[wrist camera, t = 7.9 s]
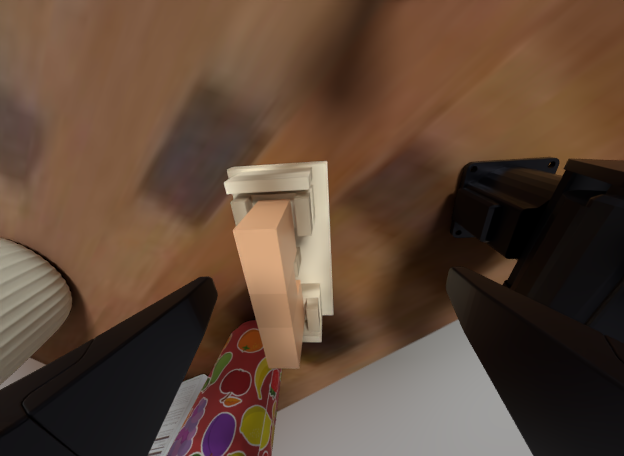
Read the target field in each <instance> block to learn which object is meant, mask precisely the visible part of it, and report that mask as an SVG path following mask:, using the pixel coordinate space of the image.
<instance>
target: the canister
mask: <svg viewBox="0 0 624 456" xmlns="http://www.w3.org/2000/svg"><path fill="white" fill-rule="evenodd" d="M71 308H72V297H71V292H70V290H69V286H68V285H67V284H66V280H65V279H63V278H62V276H61V274H60V273H59V272H57V271H56V269H55V267H53V266H51V265H50V264H49V262H48V261H46V260H44V259H43V258H42V257H41V256H40V255H37V254H35V253H34V252H33V251H32V250H30V249H27V248H25V247H24V246H23V245H20V244H16V243H15V242H13V241H10V240H6V239H4V238H1V237H0V385H1V384H2V383H3V382H4V381H5V380H6V379H7V378H8V377H10V376H11V375H12V374H13V373H14V372H15V371H16V370H17V369H18V368H19V367H20V366H21V365H22V364H23V363H24V362H25V361H26V360H27V359H28V358H30V357H31V356H32V355H33V354H34V353H35V352H36V351H37V350H38V349H39V348H40V347H41V346H42V345H43V344H44V343H45V342H46V341H47V340H48V339H49V338H50V337H51V336H52V335H53V334H54V333H55V332H56V331H57V330H58V329H59V328H60V327H61V325H62V324H63V323H64V322H65V320H66V319H67V317H68V315H69V313H70V310H71Z"/></svg>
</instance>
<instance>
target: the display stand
mask: <svg viewBox="0 0 624 456" xmlns="http://www.w3.org/2000/svg"><path fill="white" fill-rule="evenodd" d="M227 173H228V178H229V179H228V180H227V181H225V182H224V185H225V189H226V193H227V194H233V199H234V200H232V201H231V202H230V203H231V207H232V211H233V215H234V220H235V224H236V226H237V225H238V224H239V223H240V221H241V220H242V219H243V218H244V217H245V216H246V214H247V213H248V212H249V211H250V210H251V209H252V207H253V206H254V205H255V204H256V203H257V202H258V200H275V199H290V200H291V208H292V216H293V224H294V232H295V240H296V248H297V252H296V257H295V261H294V272H295V280H301V288H302V296H303V304H304V312H305V322H304V331H303V340H302V342H322V315H333V290H332V266H331V242H330V219H329V195H328V171H327V161H318V162H303V163H287V164H272V165H257V166H241V167H232V168H230V169H228V170H227Z"/></svg>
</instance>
